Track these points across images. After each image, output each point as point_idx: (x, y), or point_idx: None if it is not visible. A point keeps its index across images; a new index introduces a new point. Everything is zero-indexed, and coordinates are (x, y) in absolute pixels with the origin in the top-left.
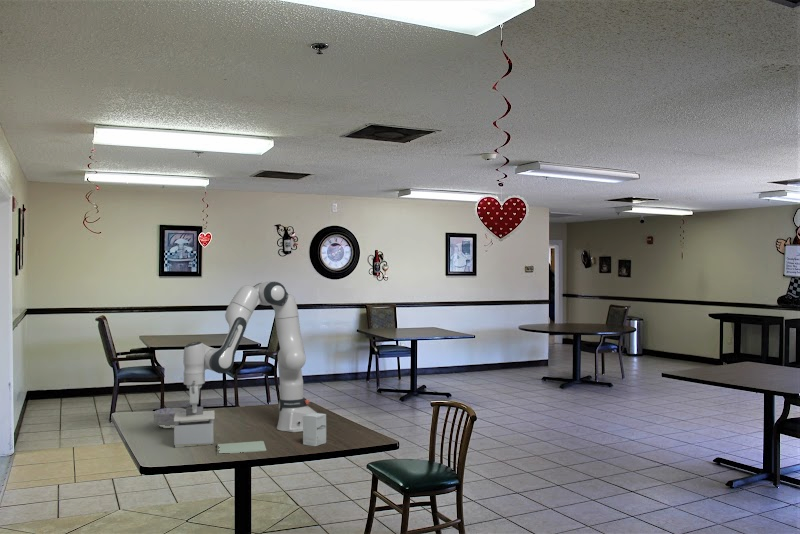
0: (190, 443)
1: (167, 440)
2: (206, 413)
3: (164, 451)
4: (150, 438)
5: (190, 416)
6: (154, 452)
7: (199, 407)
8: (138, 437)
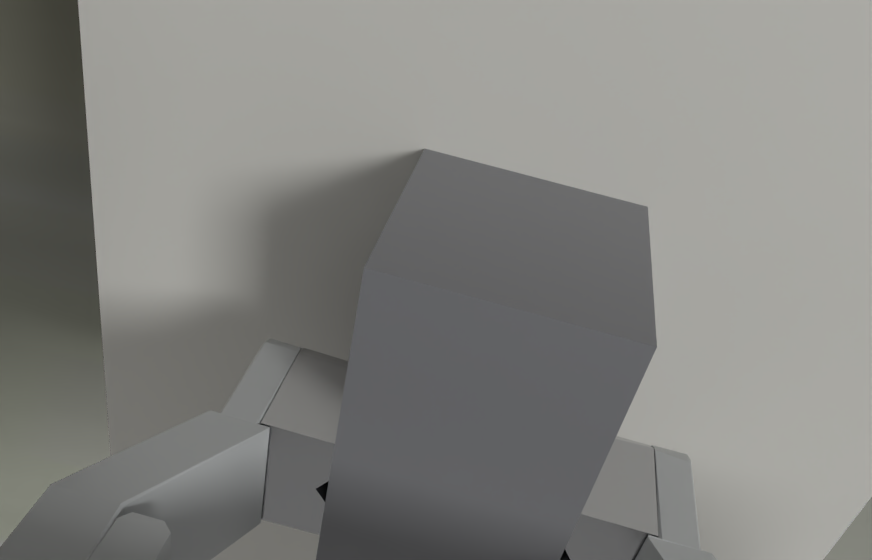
0: None
1: None
2: (543, 67)
3: None
4: (77, 427)
5: (699, 515)
6: None
7: (551, 431)
8: (11, 485)
